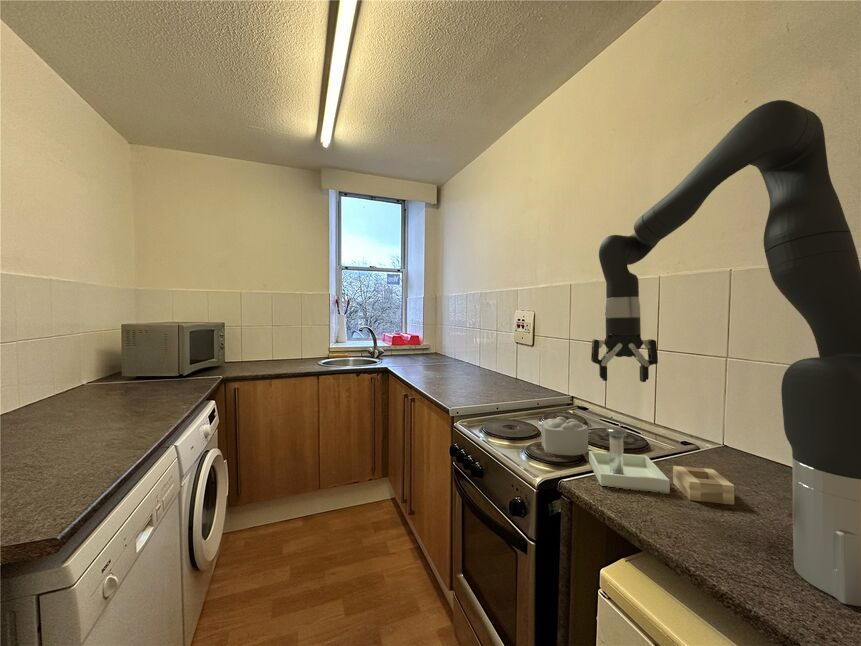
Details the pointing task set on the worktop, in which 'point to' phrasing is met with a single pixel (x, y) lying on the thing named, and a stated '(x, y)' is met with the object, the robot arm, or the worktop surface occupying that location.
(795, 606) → the worktop surface
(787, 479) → the worktop surface
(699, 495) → the frame
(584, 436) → the lumpy-topped squat cylinder
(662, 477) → the parts tray
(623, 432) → the pin
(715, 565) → the worktop surface
